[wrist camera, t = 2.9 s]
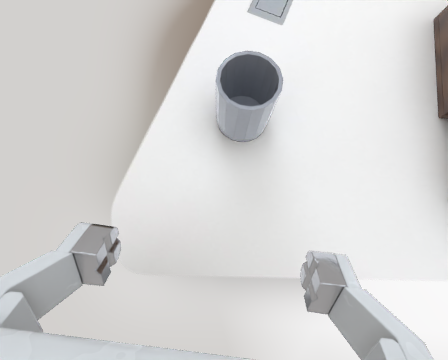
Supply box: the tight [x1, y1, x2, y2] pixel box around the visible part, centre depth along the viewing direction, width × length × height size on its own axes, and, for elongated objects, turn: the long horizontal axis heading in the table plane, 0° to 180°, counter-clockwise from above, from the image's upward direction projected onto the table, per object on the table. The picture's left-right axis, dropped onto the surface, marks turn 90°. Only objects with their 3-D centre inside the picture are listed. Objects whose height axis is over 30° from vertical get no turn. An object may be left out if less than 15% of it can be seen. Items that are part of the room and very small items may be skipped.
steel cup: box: [216, 51, 283, 142], centre depth 28 cm, size 6×6×8 cm
